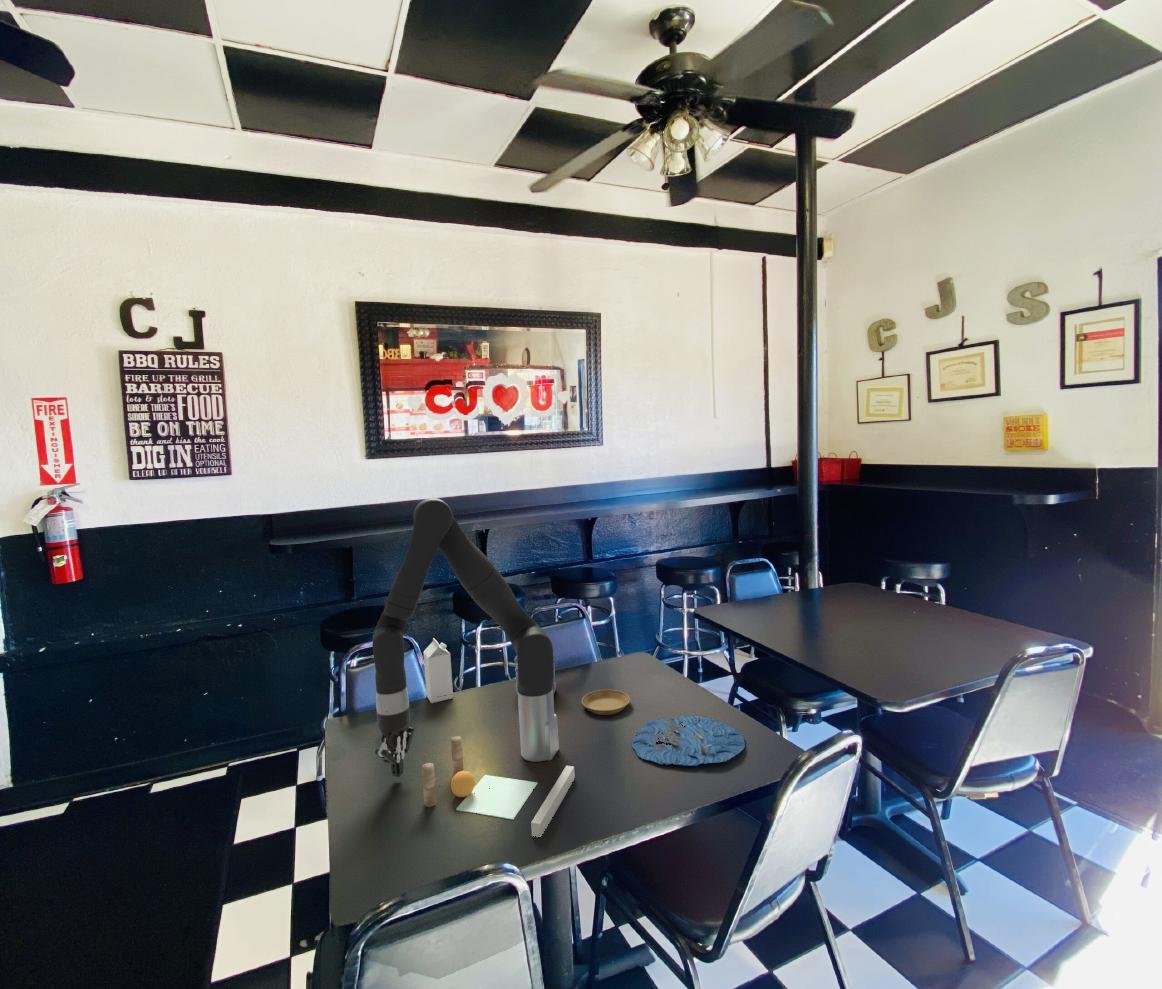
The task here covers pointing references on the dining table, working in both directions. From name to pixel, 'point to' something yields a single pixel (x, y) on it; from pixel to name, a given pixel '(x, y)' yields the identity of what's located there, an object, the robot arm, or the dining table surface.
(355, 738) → the dining table surface
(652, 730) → the decorative plate
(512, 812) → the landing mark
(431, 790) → the post left
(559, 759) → the dining table surface
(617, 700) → the plant saucer
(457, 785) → the ball
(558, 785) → the rail
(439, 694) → the milk carton
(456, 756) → the post right
